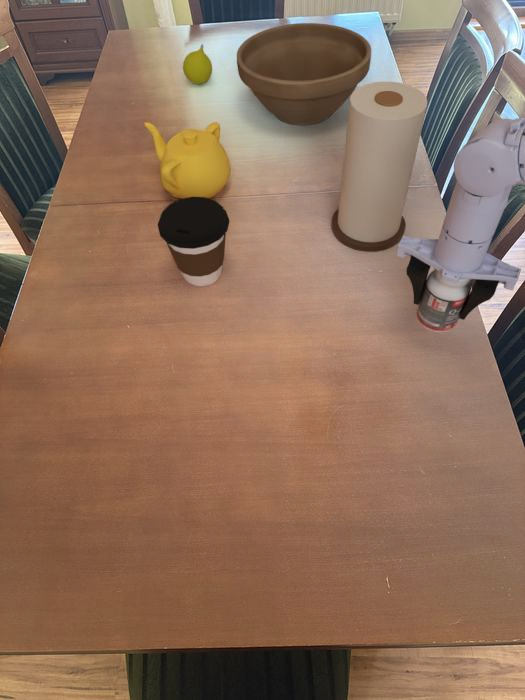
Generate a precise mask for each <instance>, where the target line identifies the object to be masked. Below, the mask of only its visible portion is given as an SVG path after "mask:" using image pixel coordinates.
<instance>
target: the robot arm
mask: <svg viewBox="0 0 525 700" xmlns="http://www.w3.org/2000/svg"><path fill="white" fill-rule="evenodd" d="M453 173H454V177H455V179H456V183H455V186H454V188H453V191H452V193H451V196H450V200H449V204H448V206H447V210H446V212H445V216H444V219H443V222H442V226H441V230H440V233H439V236H438V238H421V237H411V236H407V235H403V237H402V239H401V240H400V241H399V242H398V245H397V248H396V249H397V250H396V254H395V256H396V257H399V258H402V259H403V258H405V257H406V256H408V257H410V258H409V262H408V264H407V267H406V276H407V277H408V279H409V281H410V284H411V287H412V291H413V292H412V293H413V304H414V305H415V306H418V305H419V302H420V300H421V297H422V293H423V290H424V287H425V284H426V280H427V278H428V276H429V274H430V269H431V268H433V269H434V270H435V269H436V270H438V271H440V272H441V273H442V274H441V278H442V279H444V280H447V281H450V282H454V283H456V282H458V280H459V279H460V278H464V279H472V280H475V281H474V283H473V286H472V287H471V291H470V294H469V296H468V298H467V301H466V303H465V305H464V307H463V309H462V312H461V314H460V317H459V320H463V321H464V320H466V318H467V317H468V315H469V314H470V313H471V312H472V311H473V310H474V309H476V308H478V306H480V305H481V304H483V303H485V302H488V301H490V300H491V299H492V298H493V297H494V295H495V294H496V292H497V289H498V288H497V287H498V286H499V284H502V285H503V288H504V289H506V290H510V291H513V290H514V289H515V287H516V285H517V283H518V281H519V278H520V275H521V271H522V269H521V268H519V267H517V266H514V265H511V264H509V263H506V262H505V261H503V260H501V259H499V258H497V257H496V256H494V255H492V254H491V253H488V250H489V247H490V245H491V243H492V240H493V238H494V235H495V233H496V230H497V228H498V226H499V224H500V221H501V218H502V216H503V213H504V211H505V209H506V206H507V204H508V201H509V197H510V194H511V191H512V189H513V186H516V185H525V117H517V118H514V119H511V118H499V119H496V120H493V121H491V122H490V123H488V124H487V125H486V126H485V127H483V128H482V129H481V130H480V131H479V132H477V134H475V135H474V137H472V138H471V139H470V140H469V141H468V142H466V143H465V144H464V145H463V146H462V148H461V149H460V150H459V151H458V152H457V154H456V155H455V158H454V162H453Z"/></svg>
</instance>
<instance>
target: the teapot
mask: <svg viewBox="0 0 525 700" xmlns="http://www.w3.org/2000/svg"><path fill="white" fill-rule="evenodd" d="M144 126H145V128H147V130H148V131H149V132H150V135H151V136H152V139H153V144H154V150H155V155H156V157H157V159H158V161H159V163H160V175H159V176H160V183H161V185H162V187H163V188H164V189H165V190H166V191H167V192H168V193H169V194H171V195H172V197H174V198H178V199H183V198H188V197H205V198H208V199H211V198H213V197H214V196H216V195H217V194H218V193H220V192H221V191H222V190H223V188H224V187H225V186H226V184H227V182H228V180H229V179H230V175H231V171H232V169H231V163H230V159H229V156H228V154H227V151H226V149H225V148H224V146H223V144H222V143H221V141H220V138H221V124H220V123H219V122H217V121H213V122H211V123H210V124H208V125H207V127H206V128H205V129H204V130H202V129H196V128H188V129H184V130H181V131H179V132H178V133H176V134H175V135H173V136H172V137H171V138H170V139H169V141H167V143H166V141H165V139H164V137H163V135H162V133H161V132H160V130H159V129H158V128H157V127H156V126H155V125H154V124H152V123H150V122H147V121H146V122H144Z"/></svg>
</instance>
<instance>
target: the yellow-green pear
mask: <svg viewBox="0 0 525 700" xmlns="http://www.w3.org/2000/svg"><path fill="white" fill-rule="evenodd" d="M182 70H183V74H184V76H185V77H186V79H187V80H188V81H189V82H190V83H192V84H194V85H203V84H205V83H207V82H208V80H210V79H211V76H212V73H213V64H212V61H211V59H210V57H209V56H208V55H207V54H206V52H205V51H204V43H203V44H200V48H198V50H195V51H192V52H189V53H187V55H186V56H185V58H184V59H183V63H182Z"/></svg>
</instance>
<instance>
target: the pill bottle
mask: <svg viewBox="0 0 525 700" xmlns="http://www.w3.org/2000/svg"><path fill="white" fill-rule="evenodd" d="M441 274H442V273H441V272H440V271H438V270H436V269H434V270H432V271H431V272H429V273H428V276H427V280H426V284H425V287H424V290H423V293H422V297H421V300H420V302H419V305H417V308H416V313H415V314H416V320H417V322H418V323H419V324H420V325H421V326H422V327H423V328H424V329H426V330H428V331H430V332H434V333H446V332H449V331H451V330H453V329H454V328H455V327H456V325H457V324H458V322H459V320H460V319H459V317H460V314H461V312H462V309H463V307H464V305H465V303H466V301H467V298H468V296H469V294H470V292H471V290H472V280H473V279H464V278H460V279H459V280H458V282H456V283H454V282H450V281H447V280H444V279H442V278H441Z"/></svg>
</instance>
